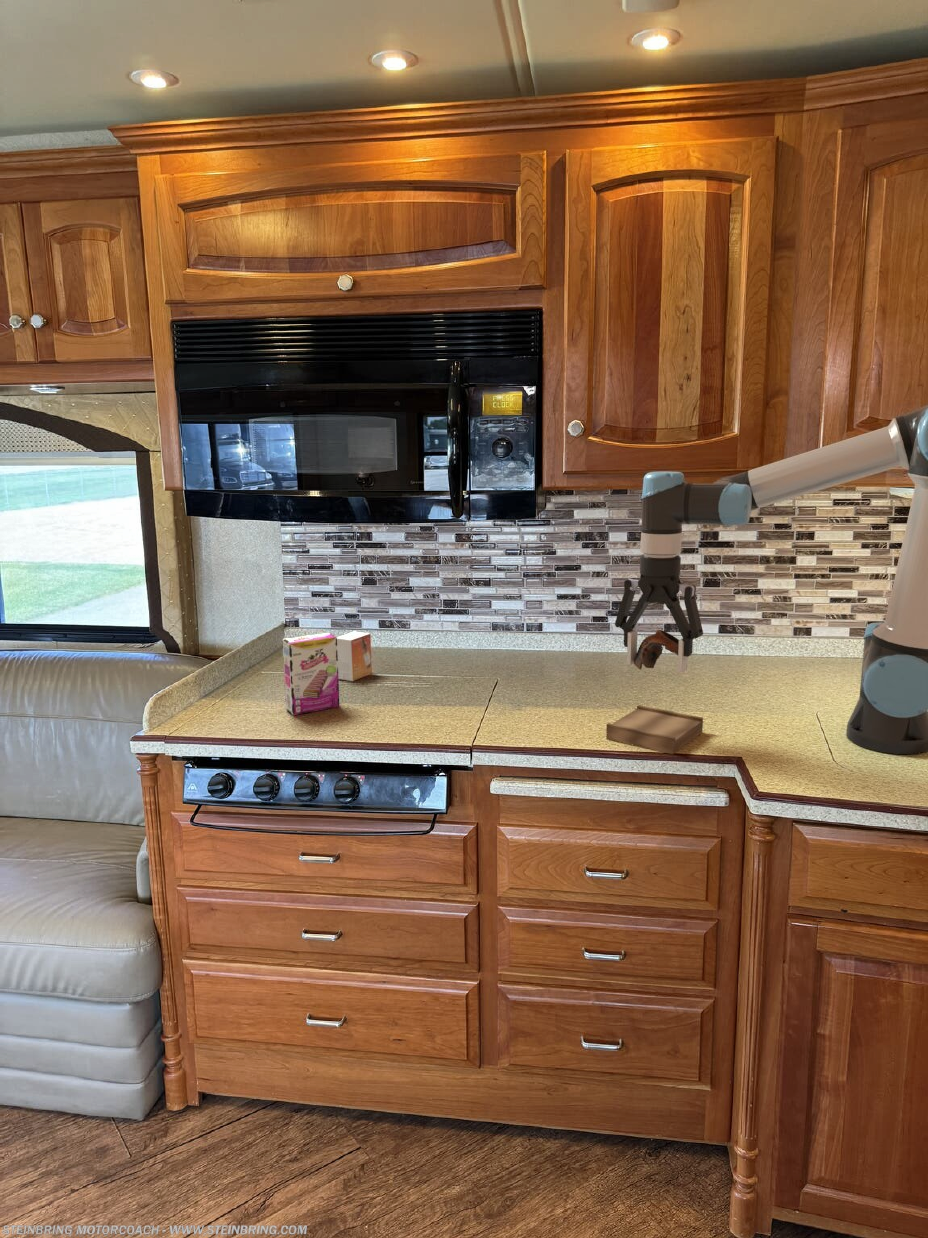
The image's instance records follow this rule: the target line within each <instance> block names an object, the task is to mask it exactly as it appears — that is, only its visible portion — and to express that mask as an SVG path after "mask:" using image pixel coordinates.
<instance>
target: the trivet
mask: <svg viewBox="0 0 928 1238" xmlns="http://www.w3.org/2000/svg"><path fill="white" fill-rule="evenodd" d="M703 723H704V717H702V716H696V715H692V714H686V713H680V712H675V711H671V710H666V709H661V708H656V707H652V706H647V705H642V704H641V705H640V704H638V705H637V706H636V709H634V710H632V711H631V712H629V713H628V714H626V715H625V716H622V717H621V718H619V719H618V720H616V721H614V722H612V723H610V722H607V724H606V732H605V733H606V737H605V738H606V740H609V741H613V740H615V741H614V742H617V741H619V743H622V742H623V744H626V743H627V744H626V745H630V744H633V745H632V746H635V745H637V746H636V747H639V746H640V748H645V749H648V748H650V749H649V750H652V749H654V750H653V751H656V750H657V751H658V752H661V753H665V752H666V754H671V755H674V754H676V753H677V752H678V751H679V750H681V749H682V748H684V746H686V745H688V744H689V743H690V742H691V741H693V740H694V739H696V738H697V737H699V736H700V735H701V734H703V728H704V727H703V726H704V724H703ZM699 734H700V735H699ZM696 736H697V737H696ZM695 737H696V738H695ZM680 748H681V749H680Z"/></svg>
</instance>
